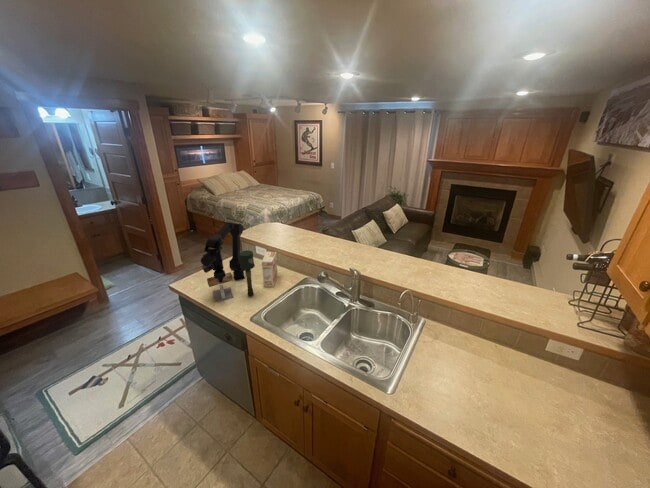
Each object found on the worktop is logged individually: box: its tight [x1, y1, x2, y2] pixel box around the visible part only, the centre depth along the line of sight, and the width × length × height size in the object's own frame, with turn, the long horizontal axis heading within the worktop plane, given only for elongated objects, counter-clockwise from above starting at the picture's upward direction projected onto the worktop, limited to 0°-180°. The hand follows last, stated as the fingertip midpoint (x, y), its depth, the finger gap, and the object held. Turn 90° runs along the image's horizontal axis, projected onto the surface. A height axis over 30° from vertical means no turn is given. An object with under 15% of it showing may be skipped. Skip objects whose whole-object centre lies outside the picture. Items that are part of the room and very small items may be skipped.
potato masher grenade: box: [239, 250, 256, 297], centre depth 159 cm, size 8×9×30 cm
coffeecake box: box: [261, 251, 279, 288], centre depth 177 cm, size 15×7×20 cm, turn 179°
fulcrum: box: [212, 283, 234, 303], centre depth 165 cm, size 11×12×4 cm
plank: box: [206, 272, 234, 288], centre depth 161 cm, size 14×4×4 cm, turn 124°
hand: (220, 280), depth 161 cm, fingers closed on plank, 4 cm apart
